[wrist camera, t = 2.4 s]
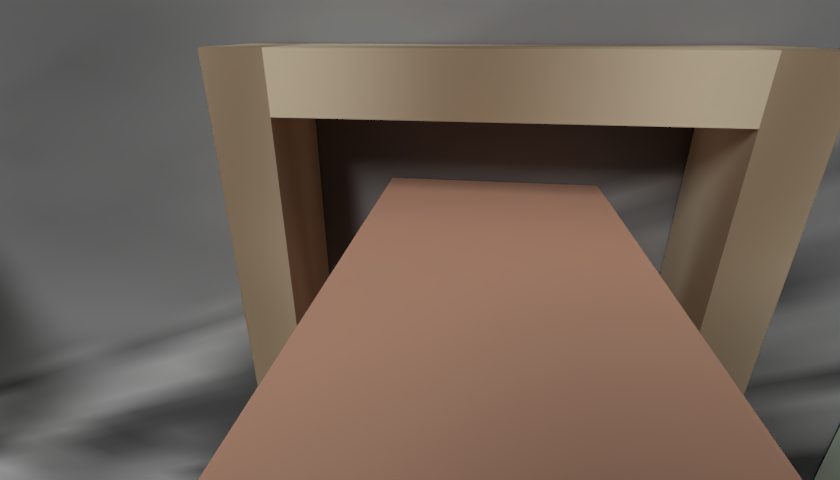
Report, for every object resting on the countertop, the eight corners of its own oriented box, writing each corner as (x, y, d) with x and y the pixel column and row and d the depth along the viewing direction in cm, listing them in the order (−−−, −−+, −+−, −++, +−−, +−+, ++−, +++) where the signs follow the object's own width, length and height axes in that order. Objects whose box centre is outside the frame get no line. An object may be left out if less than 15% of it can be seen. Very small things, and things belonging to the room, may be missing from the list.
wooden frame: (779, 45, 8) (867, 50, 6) (647, 504, 12) (674, 587, 10) (257, 42, 9) (197, 46, 7) (312, 465, 13) (284, 534, 11)
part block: (597, 185, 9) (1031, 804, 2) (559, 421, 12) (681, 1085, 4) (392, 177, 10) (91, 644, 2) (397, 405, 12) (260, 978, 5)
